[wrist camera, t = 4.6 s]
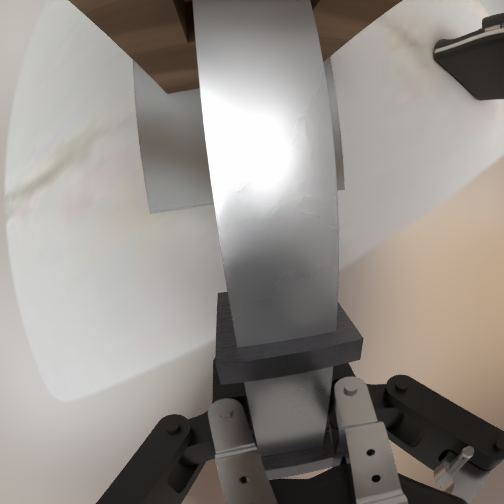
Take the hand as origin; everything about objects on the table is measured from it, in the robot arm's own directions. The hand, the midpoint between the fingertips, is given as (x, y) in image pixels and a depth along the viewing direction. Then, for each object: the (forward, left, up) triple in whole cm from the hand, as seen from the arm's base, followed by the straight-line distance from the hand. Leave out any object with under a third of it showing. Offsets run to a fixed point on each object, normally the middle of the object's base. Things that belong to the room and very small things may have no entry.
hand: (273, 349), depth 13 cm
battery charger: (-17, +20, -7) cm, 27 cm away
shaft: (-7, 0, +1) cm, 7 cm away
